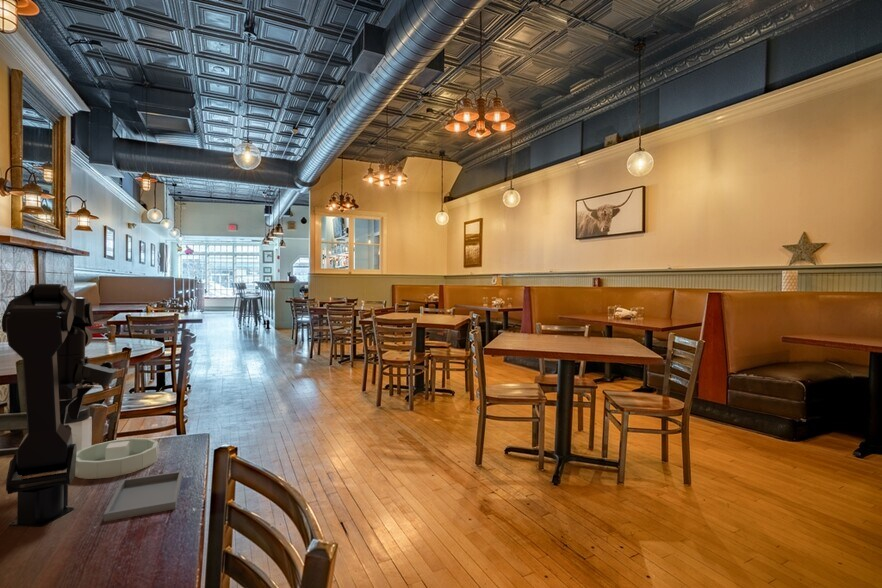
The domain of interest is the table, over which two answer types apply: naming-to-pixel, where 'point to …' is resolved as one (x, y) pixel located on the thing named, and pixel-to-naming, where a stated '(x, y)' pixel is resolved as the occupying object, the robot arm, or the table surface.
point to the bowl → (96, 466)
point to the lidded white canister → (81, 428)
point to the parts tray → (144, 496)
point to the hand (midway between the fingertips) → (67, 424)
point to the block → (117, 450)
